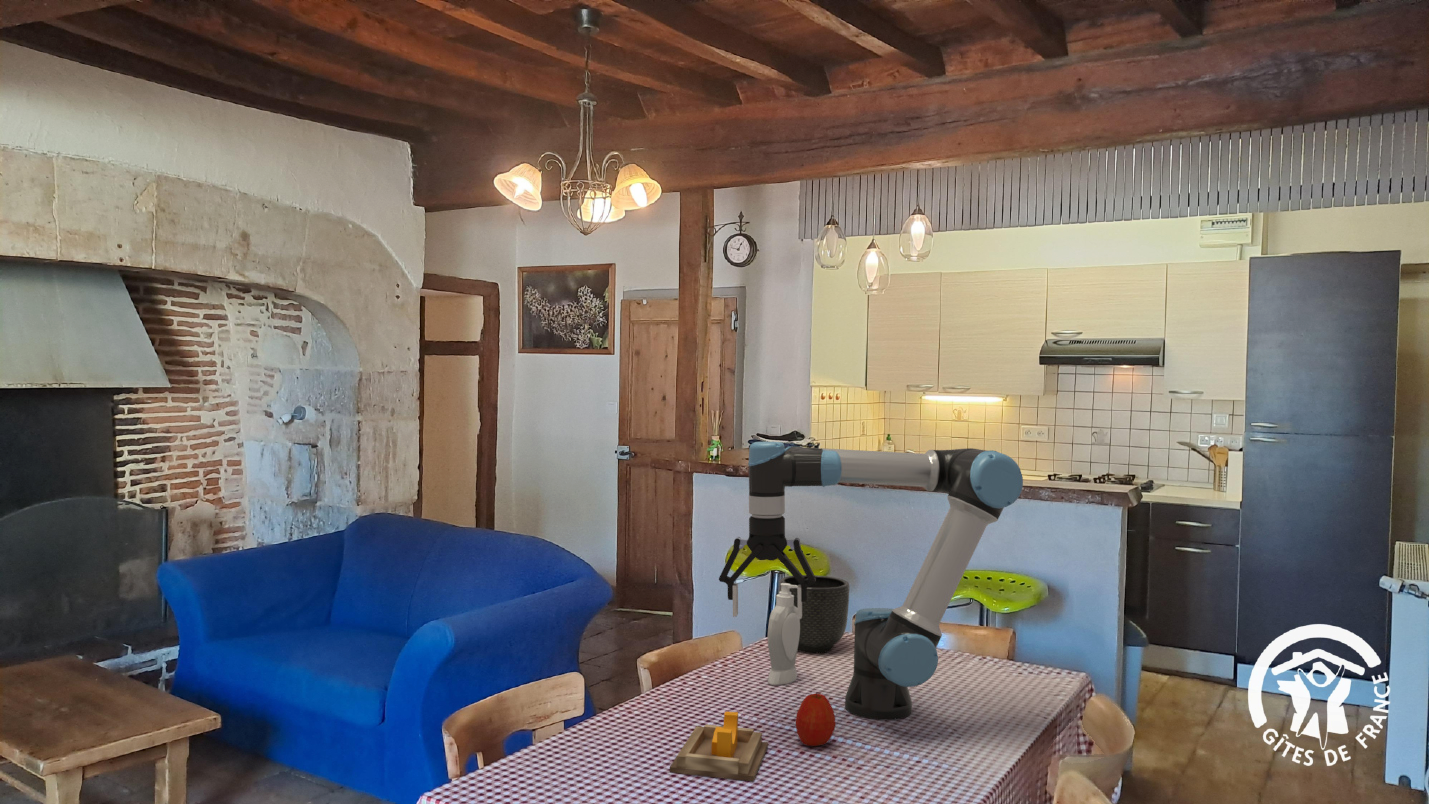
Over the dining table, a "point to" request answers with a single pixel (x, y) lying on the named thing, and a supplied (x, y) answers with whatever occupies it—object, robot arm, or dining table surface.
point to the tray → (703, 763)
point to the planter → (821, 612)
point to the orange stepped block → (726, 736)
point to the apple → (815, 720)
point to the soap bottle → (783, 638)
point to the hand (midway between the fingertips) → (767, 616)
